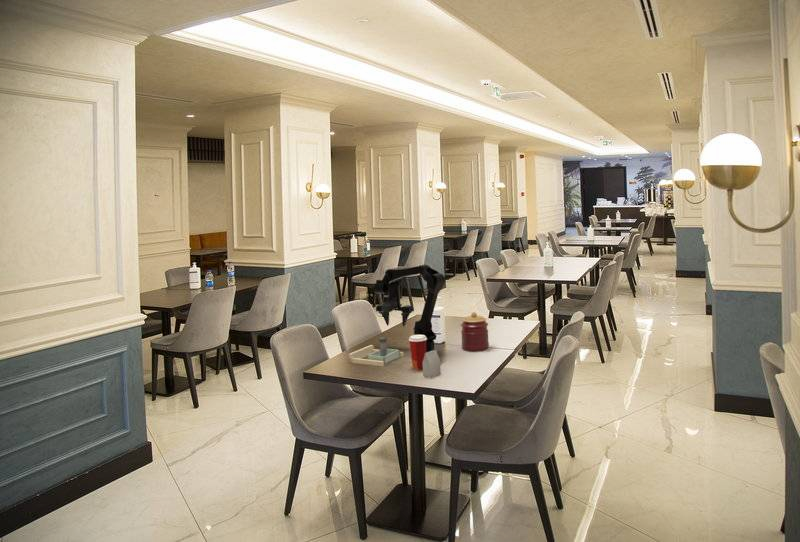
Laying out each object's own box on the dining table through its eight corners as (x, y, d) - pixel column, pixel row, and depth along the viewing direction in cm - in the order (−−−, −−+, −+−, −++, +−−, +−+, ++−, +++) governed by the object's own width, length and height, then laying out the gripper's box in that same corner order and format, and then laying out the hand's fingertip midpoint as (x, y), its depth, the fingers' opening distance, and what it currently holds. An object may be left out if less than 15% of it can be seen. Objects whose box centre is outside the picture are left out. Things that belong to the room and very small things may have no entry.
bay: (403, 357, 263) (403, 347, 262) (382, 368, 248) (381, 357, 247) (371, 354, 272) (371, 344, 272) (349, 364, 257) (348, 354, 257)
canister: (458, 351, 270) (456, 314, 268) (465, 344, 282) (464, 309, 280) (485, 352, 265) (484, 315, 263) (491, 345, 277) (490, 310, 275)
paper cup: (430, 366, 247) (428, 334, 246) (425, 371, 240) (423, 338, 239) (413, 365, 250) (411, 334, 248) (407, 370, 243) (406, 338, 241)
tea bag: (440, 373, 235) (439, 350, 234) (430, 378, 230) (428, 353, 229) (433, 372, 238) (432, 349, 236) (423, 376, 233) (421, 352, 232)
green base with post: (399, 357, 261) (398, 335, 260) (384, 364, 250) (383, 341, 249) (383, 355, 266) (382, 334, 265) (367, 362, 255) (366, 340, 254)
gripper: (368, 296, 274) (370, 328, 275) (401, 297, 264) (403, 330, 266) (381, 292, 283) (383, 323, 285) (413, 293, 273) (415, 325, 275)
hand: (395, 325), depth 277 cm, fingers open, 9 cm apart
